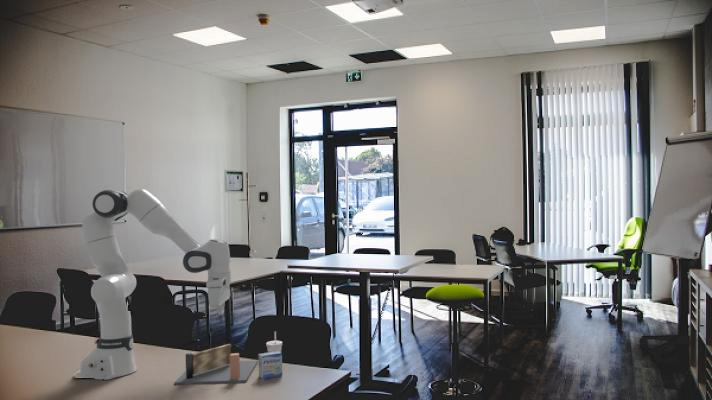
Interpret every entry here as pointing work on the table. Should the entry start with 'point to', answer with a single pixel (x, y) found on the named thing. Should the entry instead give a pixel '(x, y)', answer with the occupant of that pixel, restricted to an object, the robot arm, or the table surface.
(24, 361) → the table surface
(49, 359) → the table surface
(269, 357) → the medicine box
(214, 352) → the gate
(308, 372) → the table surface
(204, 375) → the mat
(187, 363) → the hinge post
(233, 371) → the post
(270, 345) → the smoothie
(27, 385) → the table surface
